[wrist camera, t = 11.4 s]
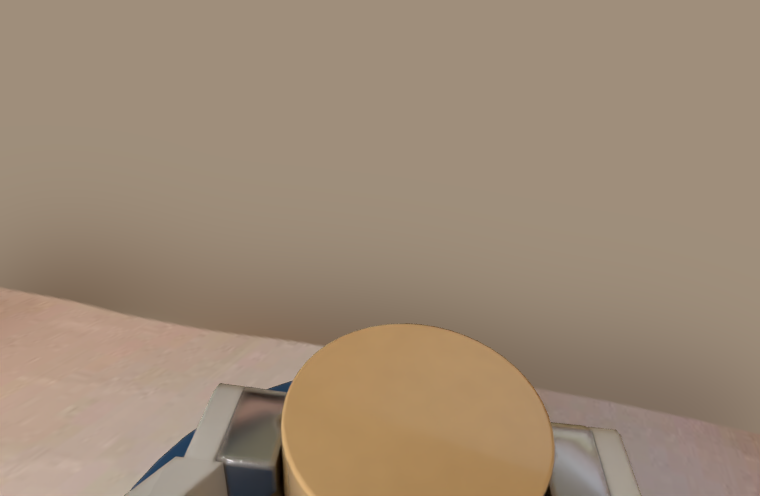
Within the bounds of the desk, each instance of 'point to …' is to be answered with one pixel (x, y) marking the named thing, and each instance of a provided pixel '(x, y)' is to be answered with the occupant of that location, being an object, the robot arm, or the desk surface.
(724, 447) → the desk surface
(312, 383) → the lid
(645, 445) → the desk surface
